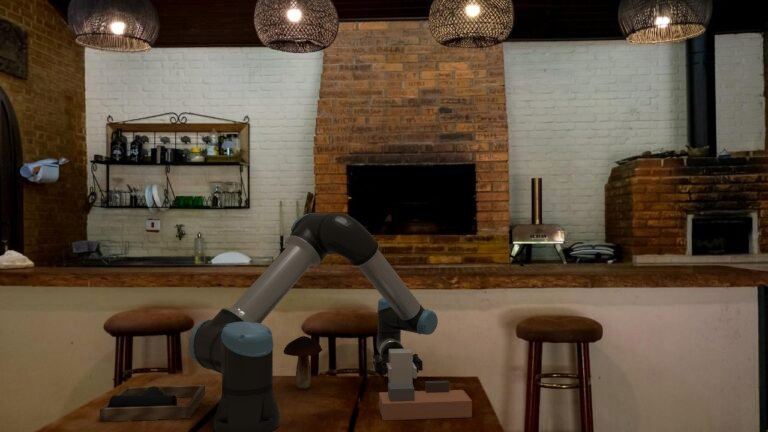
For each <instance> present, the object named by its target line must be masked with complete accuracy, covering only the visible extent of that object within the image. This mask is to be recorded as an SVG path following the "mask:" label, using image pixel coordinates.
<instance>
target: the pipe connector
mask: <svg viewBox="0 0 768 432" xmlns="http://www.w3.org/2000/svg"><path fill="white" fill-rule="evenodd" d="M147 387H148V388H147V389H146V390H144V393H143V394H141V395H117V394H116V395H112V396H111V397H110V399H109V400H108V402H109V405H108V408H118V407H148V406H178V400H177V399H178V398H176V396H175V395H165V393H164V392H165V387H158V386H157V385H152V386H147Z"/></svg>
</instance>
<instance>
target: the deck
mask: <svg viewBox="0 0 768 432" xmlns="http://www.w3.org/2000/svg"><path fill="white" fill-rule="evenodd" d="M424 385H425V387H424V388H425V389H424V390H419V391H418V390H415V387H414V384H413V385H412V383H389V382H388V383H387V391H386V392H383V391H382V392H378V409H379V413H380V415H381V419H382V421H401V420H402V421H403V420H430V419H455V418H456V419H457V418H461V419H462V418H472V417H473V400H472V399H471V398H470V396H469V395H468V393H466V391H465V390H464V389H453V390H451V389H450V382H449V380H432V381H431V380H429V381H427V380H426V381H424Z"/></svg>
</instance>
